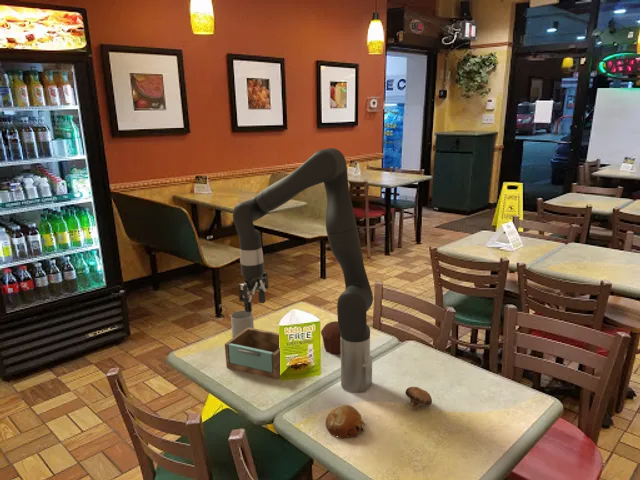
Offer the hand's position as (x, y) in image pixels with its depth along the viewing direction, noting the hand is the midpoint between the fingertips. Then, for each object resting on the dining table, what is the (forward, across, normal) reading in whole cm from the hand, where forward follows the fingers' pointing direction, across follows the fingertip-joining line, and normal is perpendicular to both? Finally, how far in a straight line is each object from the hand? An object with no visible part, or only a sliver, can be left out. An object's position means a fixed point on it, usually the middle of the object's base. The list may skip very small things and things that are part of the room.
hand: (255, 307), depth 159 cm
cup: (+22, +15, +17) cm, 32 cm away
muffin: (+22, +21, -20) cm, 37 cm away
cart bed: (+22, +1, 0) cm, 22 cm away
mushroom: (+23, -2, -56) cm, 60 cm away
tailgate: (+20, -6, 0) cm, 20 cm away
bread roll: (+23, -20, -40) cm, 50 cm away
